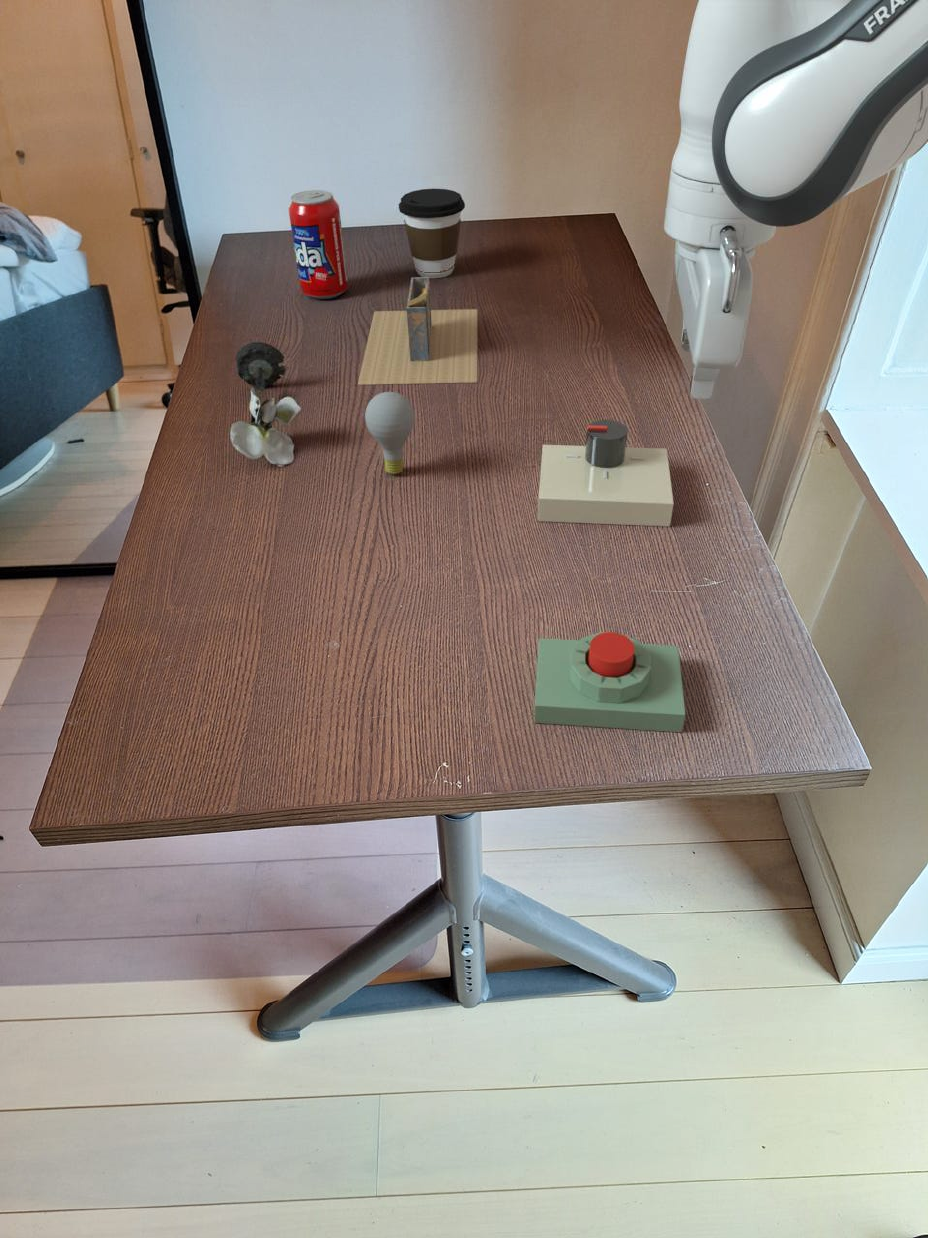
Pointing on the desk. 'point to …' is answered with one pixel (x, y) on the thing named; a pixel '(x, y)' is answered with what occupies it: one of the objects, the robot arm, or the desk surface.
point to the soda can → (318, 244)
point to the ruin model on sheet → (421, 343)
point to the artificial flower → (264, 407)
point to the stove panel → (605, 488)
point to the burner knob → (606, 443)
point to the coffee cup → (432, 229)
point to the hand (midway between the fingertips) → (695, 370)
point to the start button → (611, 654)
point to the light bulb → (390, 426)
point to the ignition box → (609, 688)
